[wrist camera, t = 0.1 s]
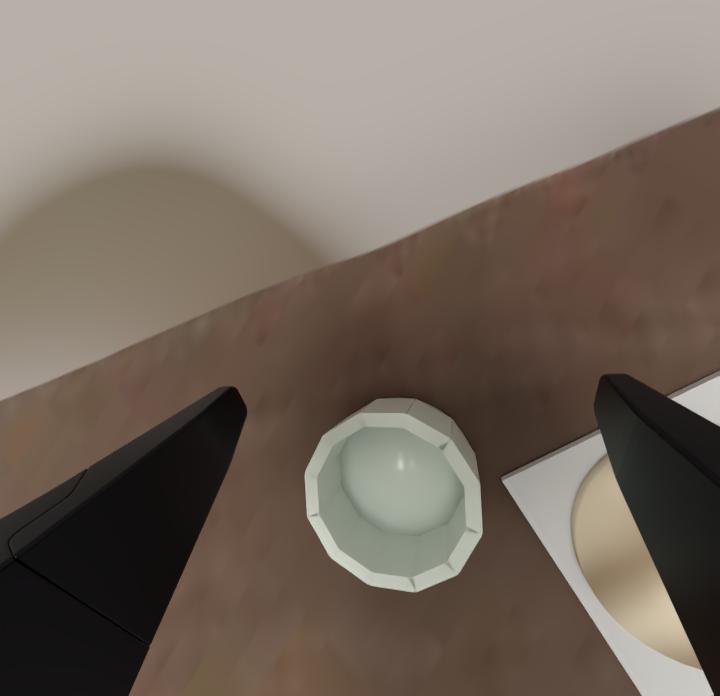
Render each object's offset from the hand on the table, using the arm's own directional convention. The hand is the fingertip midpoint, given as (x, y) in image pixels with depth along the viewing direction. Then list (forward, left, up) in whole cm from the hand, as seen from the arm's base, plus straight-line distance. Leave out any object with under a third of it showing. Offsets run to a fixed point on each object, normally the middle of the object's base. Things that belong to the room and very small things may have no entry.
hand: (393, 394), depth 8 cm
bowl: (-5, +6, -15) cm, 17 cm away
